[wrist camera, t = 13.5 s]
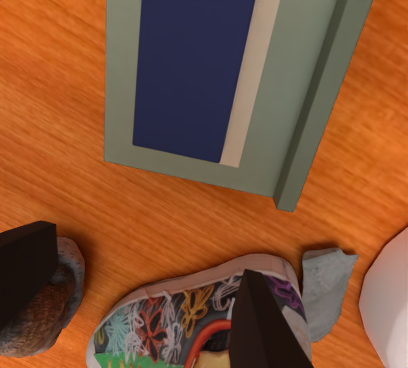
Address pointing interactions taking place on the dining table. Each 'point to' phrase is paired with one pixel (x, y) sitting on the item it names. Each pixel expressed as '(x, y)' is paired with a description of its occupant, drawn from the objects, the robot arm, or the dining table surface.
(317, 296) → the stone tool
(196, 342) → the sneaker
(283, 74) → the green platform tray
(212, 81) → the navy blue rectangular block
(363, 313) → the container
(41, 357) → the dining table surface
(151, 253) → the dining table surface
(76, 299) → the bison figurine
